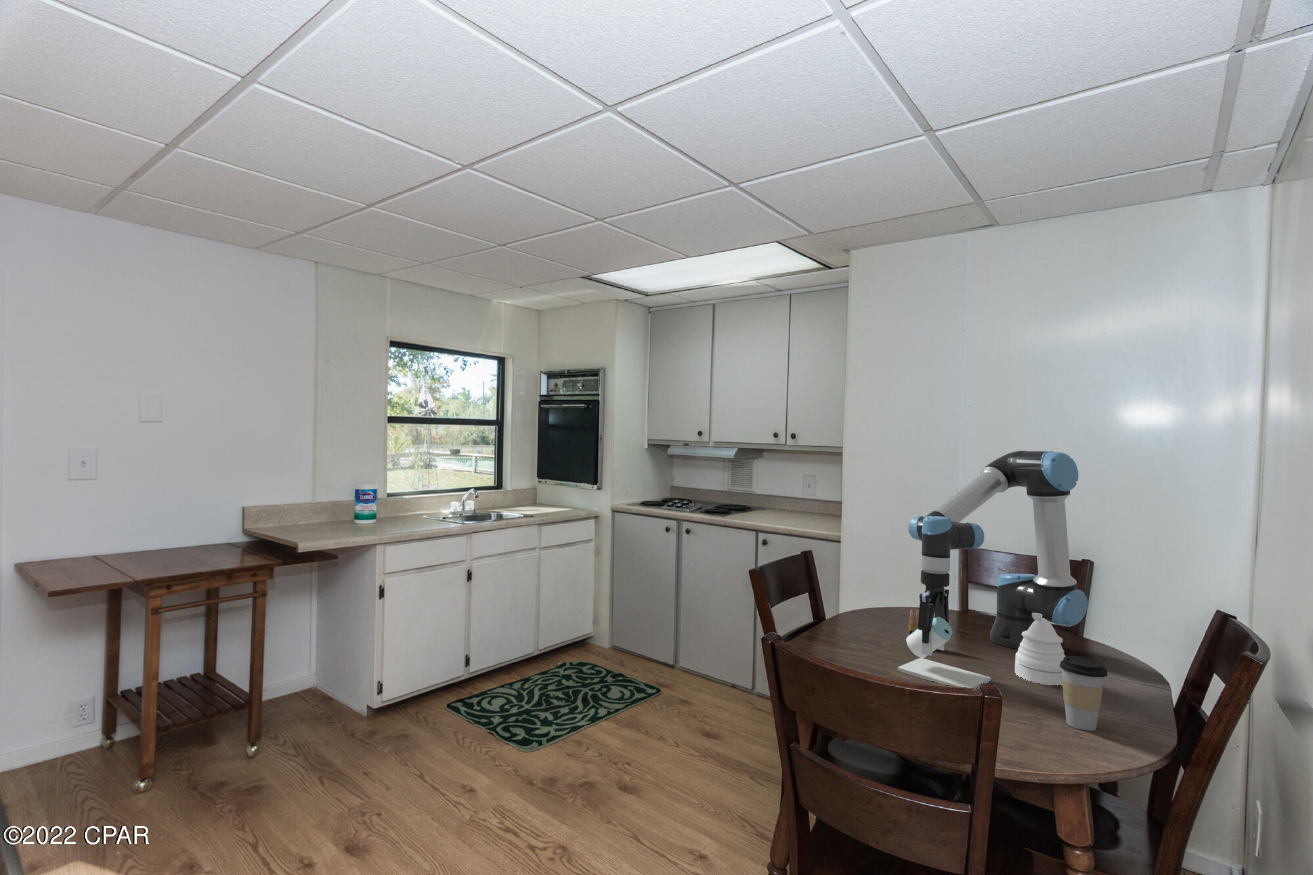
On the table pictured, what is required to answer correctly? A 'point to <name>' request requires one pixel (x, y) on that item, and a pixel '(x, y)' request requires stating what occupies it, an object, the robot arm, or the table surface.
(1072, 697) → the coffee cup
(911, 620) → the ammunition clip
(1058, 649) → the honey pot
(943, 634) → the can
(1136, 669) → the table surface
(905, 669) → the mat
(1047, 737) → the table surface
